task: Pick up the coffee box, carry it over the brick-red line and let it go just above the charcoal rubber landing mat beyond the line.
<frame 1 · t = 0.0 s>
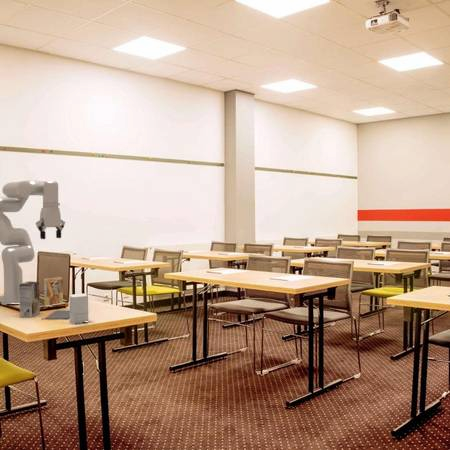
hand: (50, 238, 263), 37 cm above the table, tool pointing down, fingers open, 9 cm apart
supplement box: (78, 322, 239), on the table
candy box: (53, 307, 274), on the table
coffee box: (29, 315, 253), on the table
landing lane: (60, 315, 253), on the table
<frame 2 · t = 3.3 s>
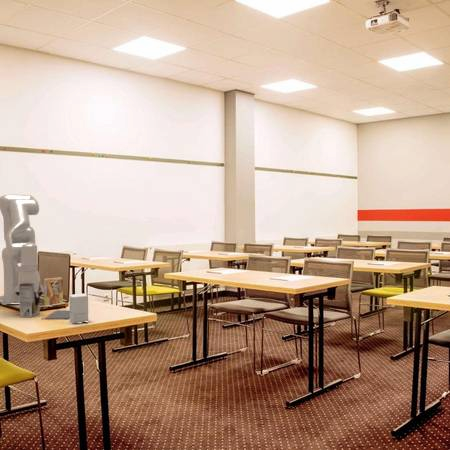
hand: (29, 304, 253), 5 cm above the table, tool pointing down, fingers closed on coffee box, 6 cm apart
coffee box: (29, 315, 253), on the table, touching gripper
everything else where it was.
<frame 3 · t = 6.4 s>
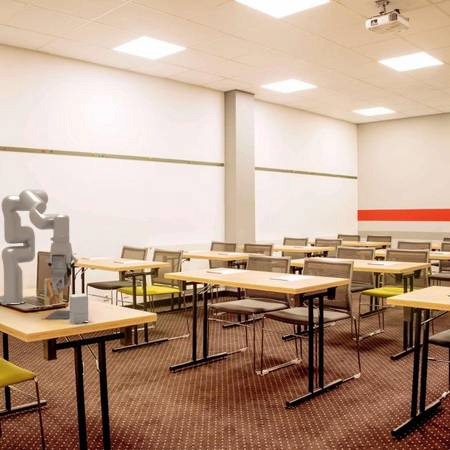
hand: (61, 275, 252), 20 cm above the table, tool pointing down, fingers closed on coffee box, 6 cm apart
coffee box: (61, 286, 253), point 14 cm above the table, touching gripper
everything else where it was.
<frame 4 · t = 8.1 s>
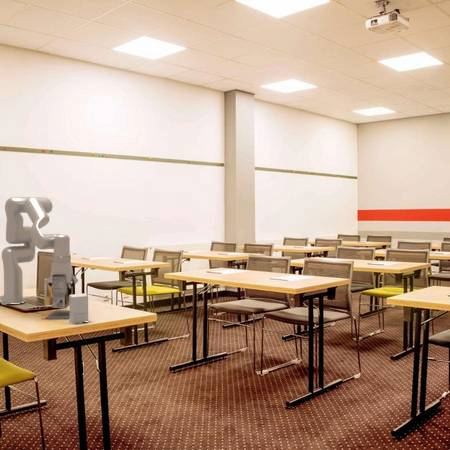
hand: (62, 295, 253), 10 cm above the table, tool pointing down, fingers closed on coffee box, 6 cm apart
coffee box: (62, 306, 253), point 4 cm above the table, touching gripper
everything else where it was.
when the fingers open (7 cm above the table, at t = 9.6 s): coffee box drops 1 cm, resting on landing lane.
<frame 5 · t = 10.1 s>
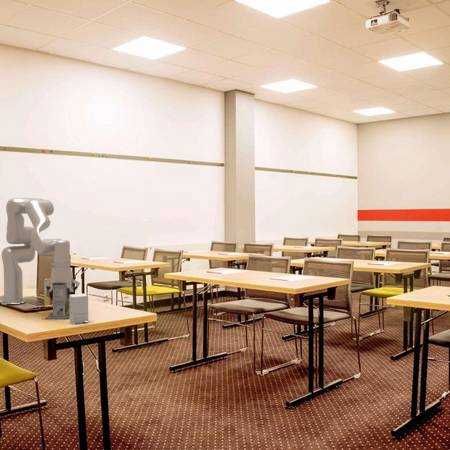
hand: (62, 299, 253), 8 cm above the table, tool pointing down, fingers open, 9 cm apart
coffee box: (62, 314, 253), resting on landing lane
everything else where it was.
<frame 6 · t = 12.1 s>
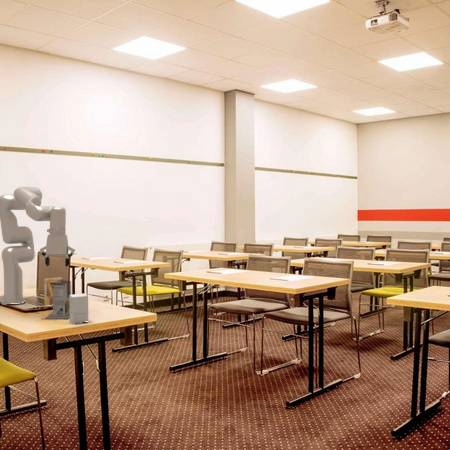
hand: (57, 265, 257), 24 cm above the table, tool pointing down, fingers open, 9 cm apart
nothing on the table moved.
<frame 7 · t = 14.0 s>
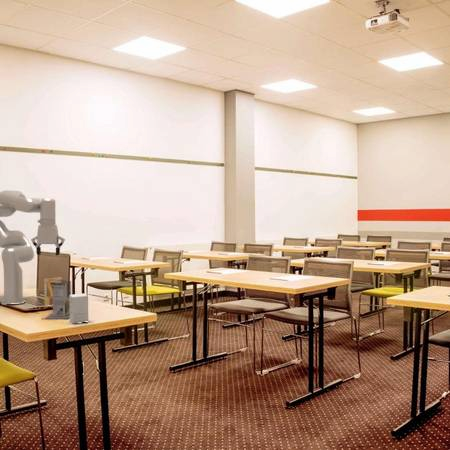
hand: (48, 255, 268), 28 cm above the table, tool pointing down, fingers open, 9 cm apart
nothing on the table moved.
at the end: coffee box inside the target area (0.7 cm from its centre), resting on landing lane; coffee box tilted 0°; the gripper is holding nothing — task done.
